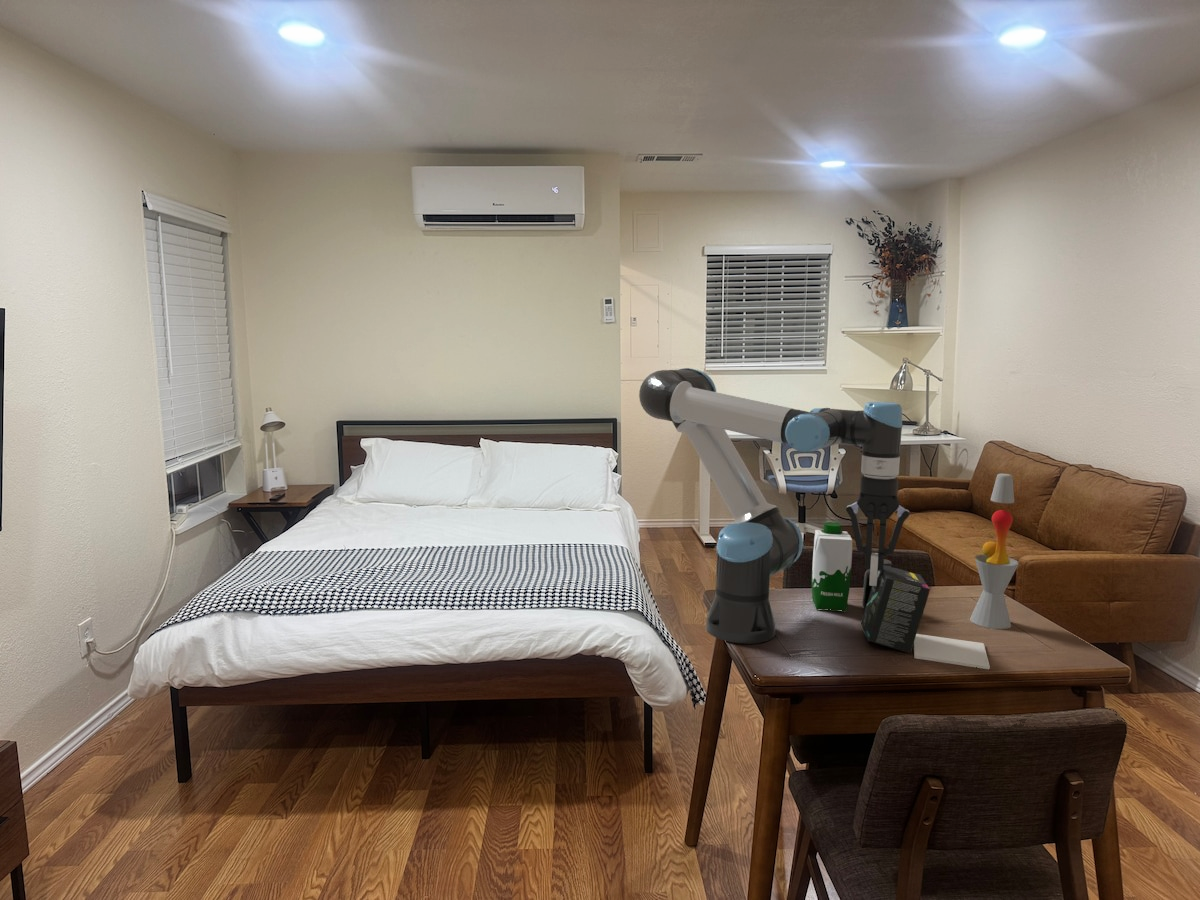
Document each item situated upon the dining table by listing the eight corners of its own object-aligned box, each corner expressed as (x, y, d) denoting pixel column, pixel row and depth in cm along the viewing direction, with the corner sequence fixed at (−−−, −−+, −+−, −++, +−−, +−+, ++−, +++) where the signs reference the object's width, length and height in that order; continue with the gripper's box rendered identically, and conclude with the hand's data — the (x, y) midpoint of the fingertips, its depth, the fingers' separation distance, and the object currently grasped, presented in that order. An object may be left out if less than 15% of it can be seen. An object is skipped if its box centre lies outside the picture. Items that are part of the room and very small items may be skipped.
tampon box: (911, 654, 164) (932, 589, 161) (866, 641, 166) (886, 576, 163) (902, 635, 175) (921, 573, 172) (860, 623, 176) (879, 562, 174)
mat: (914, 658, 162) (914, 655, 162) (913, 635, 174) (913, 633, 174) (989, 669, 157) (989, 666, 157) (983, 645, 169) (983, 643, 169)
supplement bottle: (872, 614, 187) (876, 565, 185) (856, 604, 194) (859, 557, 192) (897, 612, 189) (901, 563, 187) (880, 602, 196) (884, 555, 194)
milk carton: (844, 601, 196) (849, 522, 193) (850, 613, 187) (856, 531, 184) (808, 598, 197) (812, 521, 194) (813, 611, 189) (818, 530, 186)
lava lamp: (1019, 623, 183) (1034, 475, 178) (1001, 632, 177) (1017, 479, 172) (980, 612, 190) (993, 469, 185) (962, 620, 184) (975, 473, 179)
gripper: (846, 476, 165) (840, 585, 168) (912, 480, 160) (905, 592, 164) (848, 470, 172) (842, 575, 175) (912, 475, 167) (905, 582, 171)
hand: (873, 583), depth 169 cm, fingers closed
